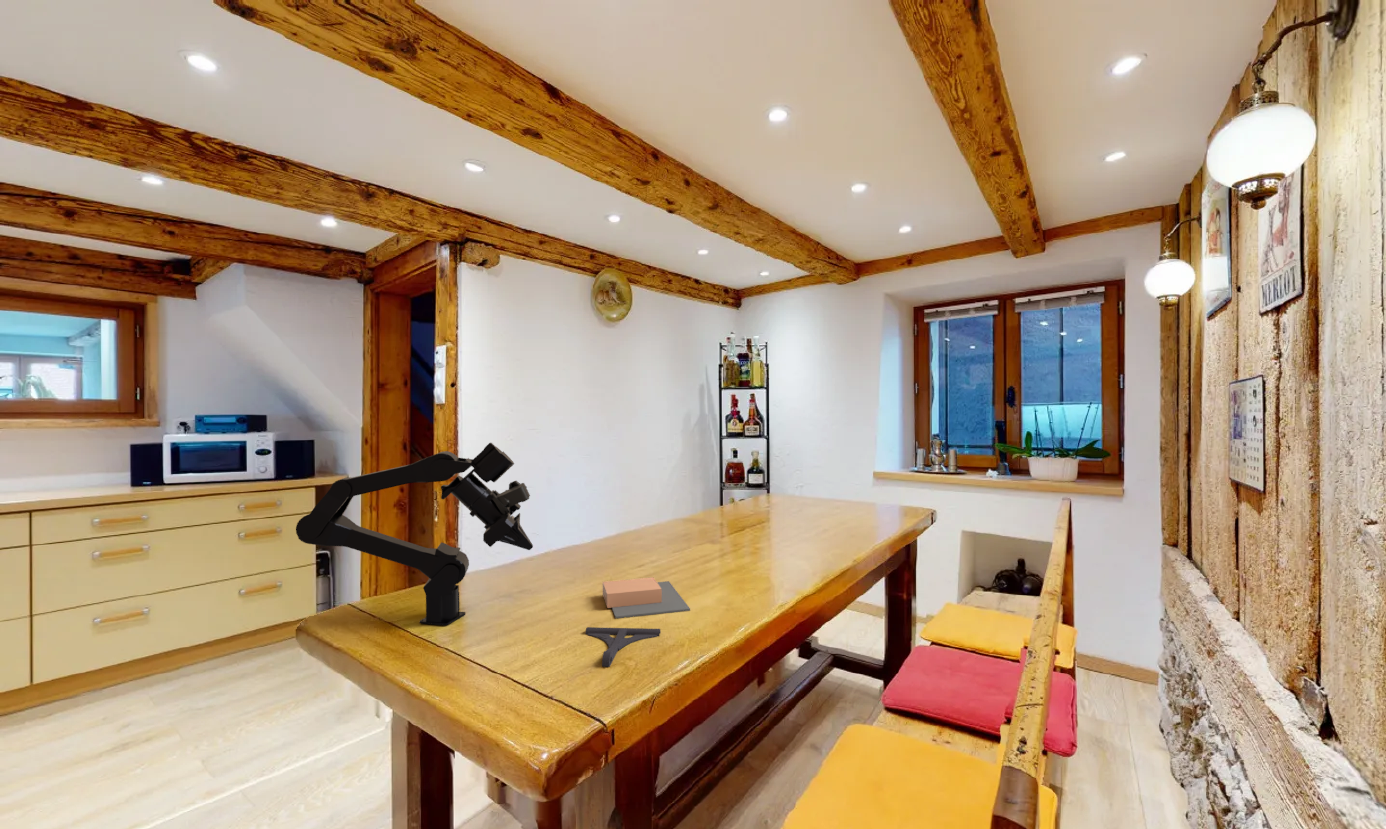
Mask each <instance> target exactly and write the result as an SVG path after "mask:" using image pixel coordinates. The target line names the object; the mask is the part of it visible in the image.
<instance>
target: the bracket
mask: <svg viewBox="0 0 1386 829" xmlns="http://www.w3.org/2000/svg"><path fill="white" fill-rule="evenodd" d="M585 628H586V629H585V635H587V636H589V637H594V638H596V639H599V640H601V641H603V642H604V643H606V645H607V646H608V648H607V649H606V650H604V651H603V654H602V658H601V659H602V660H601V667H603V668H610V667H611V665H612V663H613V661H614V659H615V657H616V655H617V654H618V652H619V651H620V650H622V649H623V648H624V647H627V646H628V645H630V644H632V643H635V642H639V641H643V640H646V639H653V638H657V637H660V634H661V629H660V628H640V627H639V628H638V627H636V628H635V627H634V628H633V627H594V626H589V627H588V626H587V627H585ZM613 636H615V637H613ZM626 636H627V637H626ZM628 636H630V637H628Z"/></svg>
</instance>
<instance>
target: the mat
mask: <svg viewBox="0 0 1386 829" xmlns="http://www.w3.org/2000/svg"><path fill="white" fill-rule="evenodd" d="M656 582H657V583H658V584H659V586H660V587H661V589H662V602H660V603H650V604H641V605H631V606H621V607H612V608H611V610H612V612H613V615H614V618H615V619H616V618H617V619H625V618H624V617H626V618H632V617H633V616H634V617H633V618H635V617H645V616H653V615H662V614H670V613H671V614H672V613H678V612H679V613H681V612H688V611H691V607H690V606H689V605H688V604H687V603H686V601H685V600H684V599H683V597H682V595H680V594H679V592H678V590H676V588H675V587H674V586H673V584H672V583H671V582H670V580H668V581H667V580H666V581H656Z"/></svg>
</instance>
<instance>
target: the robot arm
mask: <svg viewBox="0 0 1386 829" xmlns="http://www.w3.org/2000/svg"><path fill="white" fill-rule="evenodd" d="M514 465H515V463H514V461H513V460H512V459H511V457H509V456H508V454H507V453H506V452H504V451H502V450H501V449H500V448H499V447H497V446H496V445H495V444H494V443H493V442H489V443H488V444H486V446H485V447H484V448H483V450H482V451H480V453H478V454H477V455H476V456H475V457H474V458H472V459H471V458H469V457H468V458H464V457H458V456H457V455H456V453H453V452H451V451H448V450H447V451H446V450H445V451H441V452H438V453H435V454H433V455H431V456H428V457H427V456H426V458H422V459H420V460H418V461H415V462H413V463H410V464H407V465H402V466H398V467H393V468H392V467H391V468H388V469H385V470H379V471H375V472H370V473H366V474H361V475H357V476H352V477H351V476H350V477H344V478H343V477H342V478H341V479H338V480H336V481H334V482H333V483H332V484H331V486H330V488H329V489H328V490H327V491H326V493H325V495H324V496H323V497H322V498H321V499H320V500H319V501H318V503H317V504H315V506H314V508H313V509H312V510H311V511H310V513H308V514H306V515H304V516H303V517H301V518H300V519H299V520H298V522H297V523H296V526H295V534H296V535H297V538H298V540H299V541H300V542H302V543H304V544H308V545H315V546H323V547H344V548H345V547H346V548H349V549H352V550H355V551H358V552H362V553H364V554H368V555H372V556H374V557H377V558H381V559H385V560H387V561H390V562H394V563H397V564H401V565H404V566H407V567H409V568H414V569H417V570H418V571H419V572H421V573H422V574H423V575H425V576H426V577H427V578H428V580H427V581H426V582H425V584H424V586H423V588H422V589H423V592H424V594H425V617H424V618H422V619H420V620H419V624H423V625H424V624H425V625H435V626H436V625H437V626H448V625H451V624H452V623H454V622H455V621H457V620H459V619H460V618H462V617H464V616H466V611H460V591H459V590H460V589H459V588H460V586H459V584H460V583H461V582H462V581H463V580H464V578H465V576H466V574H467V572H468V570H469V566H470V560H469V557H468V556H467V554H466V553H465V552H463V551H460V550H461V547H453V546H451V545H449V544H447V543H444V542H440V544H439V545H438V546H437V547H436V548H432V547H431V548H429V547H425V546H422V545H419V544H415V543H412V542H409V541H406V540H402V539H401V538H396V537H393V536H390V535H387V534H383V533H381V532H378V531H375V530H372V529H369V528H365V527H363V526H360V525H357V524H356V523H355V522H354V521H352V520H351V519H350V518H348V517H347V516H345V515H344V513H345V512H346V510H347V509H348V507H349V505H350V503H351V502H352V499H353V498H354V497H355V496H356V497H357V496H360V495H364V494H370V493H373V492H377V491H382V490H386V489H390V488H394V487H399V486H403V485H407V484H412V483H413V484H414V483H415V484H416V483H417V484H418V483H435V482H436V483H439V482H446V481H448V480H450V479H451V478H453V477H454V476H455V475H456V474H461V473H465V472H466V471H468V470H469V469H470V468H471V467H472V468H473V469H471V471H469V472H468V473H467V474H466V475H465V476H464V477H462V476H460V475H457V477H454V479H453V480H452V481H451V482H450V483H449V484H442V485H441V486H440V490H441V497H440V498H441V500H445V499H446V498H447V497H449V496H450V494H452V496H454V498H456V499H457V500H458V501H459V502H460V503H461V504H462V505H463V506H464V507H465V508H467V509H468V510H469V511H470V512H469V515H470V516H471V517H473V518H474V517H476V518H477V519H478V520H479V521H480V522H482V523H483V524H484V526H483V528H485V530H484V533H483V538H482V539H483V542H484V543H485V544H486V545H487V546H488V547H489V548H492V546H494V544H495V543H497V542H501V543H504V544H508V545H512V546H515V547H518V548H521V549H524V550H526V551H531V550H532V548H534V545H533V544H532V542H531V540H530V539H529V536H528V535H527V534H526V532H525V531H524V529H523V527H522V526H521V513H520V512H519V513H518V514H517V515H515V516H514V513H516V511H519V510H520V509H521V504H520V503H524V502H526V501H528V500H529V499H530V497H531V495H530V494H531V493H529V490H528V489H527V488H528V487H527V486H526V484H525V482H522V483H520V482H518V480H514V481H511V482H510V483H509V484H508V489H505V490H504V491H502V492H499V491H497V490H496V489H493V490H491V489H490V488H489V487H488V486H487V485H486V484H484V483H483V482H485V483H487V484H488V483H489V482H490V481H491V482H493V483H496V482H497V481H498V480H499V479H500V478H501V477H502V476H504V474H505V473H506V472H507V471H509V470H510V469H511V467H513V466H514ZM474 473H475V474H476V475H477V476H478V477H479V478H480V479H481V480H480V479H479V478H478V477H477V476H476V475H475V474H474Z"/></svg>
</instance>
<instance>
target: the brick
mask: <svg viewBox="0 0 1386 829" xmlns="http://www.w3.org/2000/svg"><path fill="white" fill-rule="evenodd" d="M657 582H658V581H657V580H656V579H655V577H640V578H631V579H618V580H607V581H602V596H603V599H604V603H605V605H606V608H608V609H612V607H621V606H631V605H641V604H650V603H660V602H662V589H661V587H660V586H659V584H658V583H657Z"/></svg>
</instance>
